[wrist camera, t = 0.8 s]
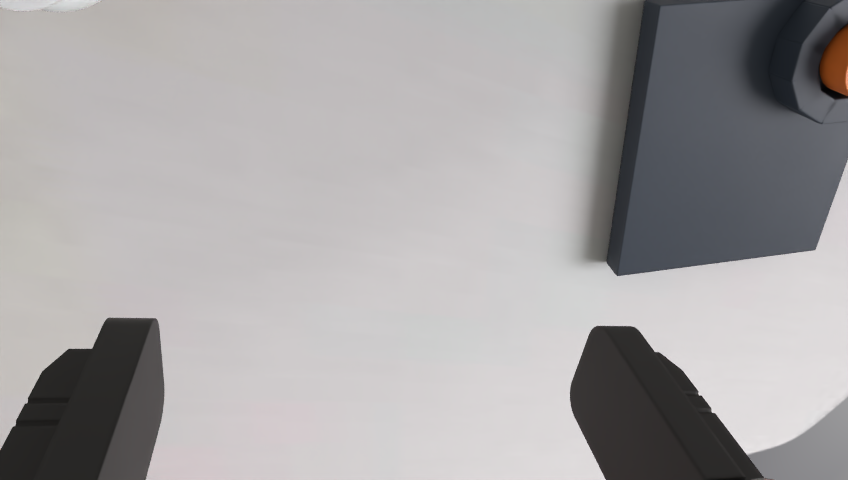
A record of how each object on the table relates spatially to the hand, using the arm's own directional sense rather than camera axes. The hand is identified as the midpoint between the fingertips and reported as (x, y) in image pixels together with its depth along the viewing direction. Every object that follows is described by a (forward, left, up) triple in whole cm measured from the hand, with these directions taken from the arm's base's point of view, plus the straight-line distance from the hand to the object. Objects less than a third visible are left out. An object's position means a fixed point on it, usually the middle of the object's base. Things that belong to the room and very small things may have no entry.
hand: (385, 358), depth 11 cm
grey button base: (+4, +20, -18) cm, 27 cm away
